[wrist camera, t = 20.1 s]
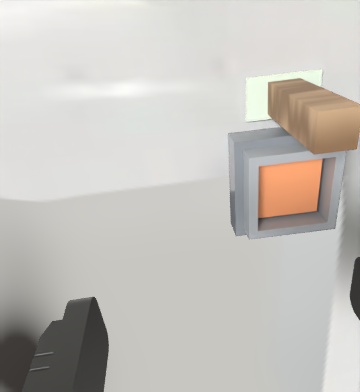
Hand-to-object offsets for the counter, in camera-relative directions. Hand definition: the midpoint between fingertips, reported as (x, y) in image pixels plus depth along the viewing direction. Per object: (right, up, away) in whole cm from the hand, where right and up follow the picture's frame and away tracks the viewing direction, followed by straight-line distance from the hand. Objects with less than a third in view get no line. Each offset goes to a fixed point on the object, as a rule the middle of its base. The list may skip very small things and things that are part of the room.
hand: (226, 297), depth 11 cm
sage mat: (+10, +14, +26) cm, 31 cm away
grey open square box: (+11, +6, +31) cm, 33 cm away
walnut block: (+10, +14, +26) cm, 31 cm away
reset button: (+10, +5, +30) cm, 32 cm away
